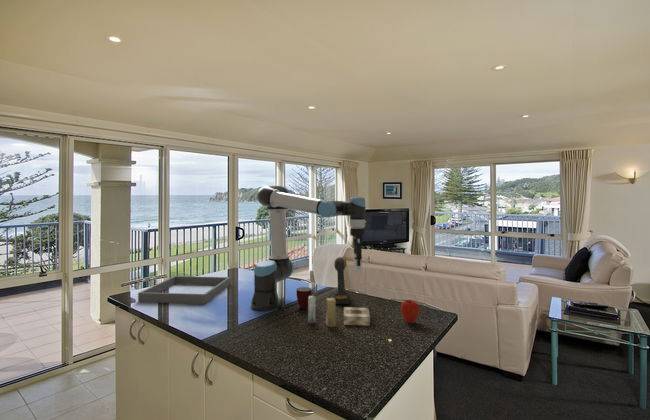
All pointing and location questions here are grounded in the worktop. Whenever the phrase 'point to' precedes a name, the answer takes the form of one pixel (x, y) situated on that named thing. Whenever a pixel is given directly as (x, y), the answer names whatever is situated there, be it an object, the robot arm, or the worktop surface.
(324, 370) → the worktop surface
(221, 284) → the frame
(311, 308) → the round bit
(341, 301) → the cordless drill
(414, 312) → the apple
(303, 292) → the mug
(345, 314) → the bore block
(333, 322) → the square bit
